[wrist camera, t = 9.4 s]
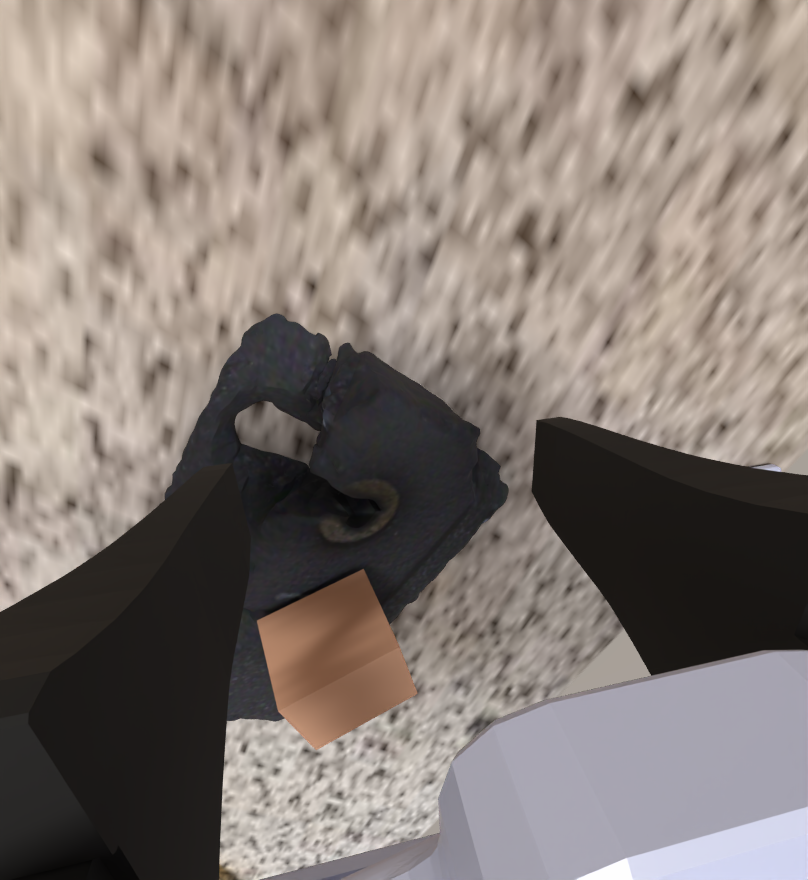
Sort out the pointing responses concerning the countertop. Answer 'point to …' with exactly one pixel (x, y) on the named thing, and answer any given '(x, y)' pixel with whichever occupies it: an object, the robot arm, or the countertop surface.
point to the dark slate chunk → (338, 483)
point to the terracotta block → (334, 660)
